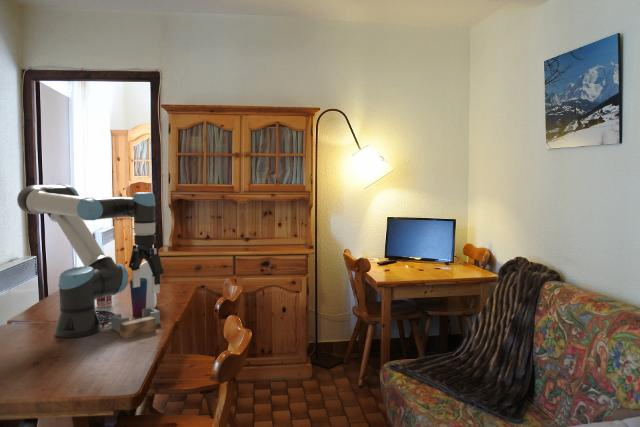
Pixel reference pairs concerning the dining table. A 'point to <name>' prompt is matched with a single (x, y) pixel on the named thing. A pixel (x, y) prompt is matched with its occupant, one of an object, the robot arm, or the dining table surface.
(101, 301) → the pill bottle
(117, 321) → the grey u-shaped bracket
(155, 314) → the endcap far
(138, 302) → the cup
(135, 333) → the slat
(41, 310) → the dining table surface
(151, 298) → the milk
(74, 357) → the dining table surface
